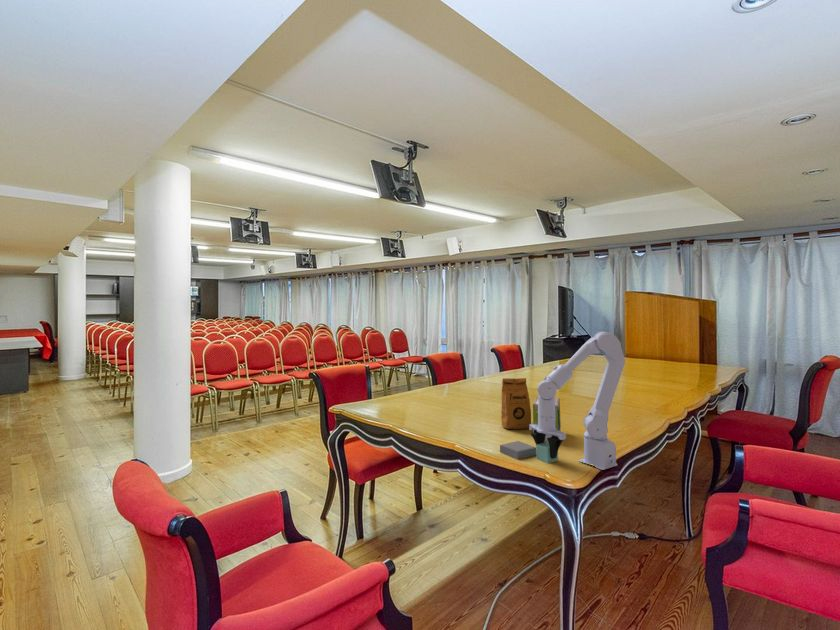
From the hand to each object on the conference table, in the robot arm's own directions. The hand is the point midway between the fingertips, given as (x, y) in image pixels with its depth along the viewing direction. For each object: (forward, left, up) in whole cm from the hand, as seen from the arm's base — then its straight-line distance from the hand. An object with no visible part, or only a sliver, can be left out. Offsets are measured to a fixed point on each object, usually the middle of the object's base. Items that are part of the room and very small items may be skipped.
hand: (547, 455), depth 141 cm
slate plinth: (+10, +4, -1) cm, 11 cm away
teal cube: (0, 0, -2) cm, 2 cm away
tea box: (+19, -21, -2) cm, 28 cm away
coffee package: (+35, -19, -2) cm, 40 cm away
